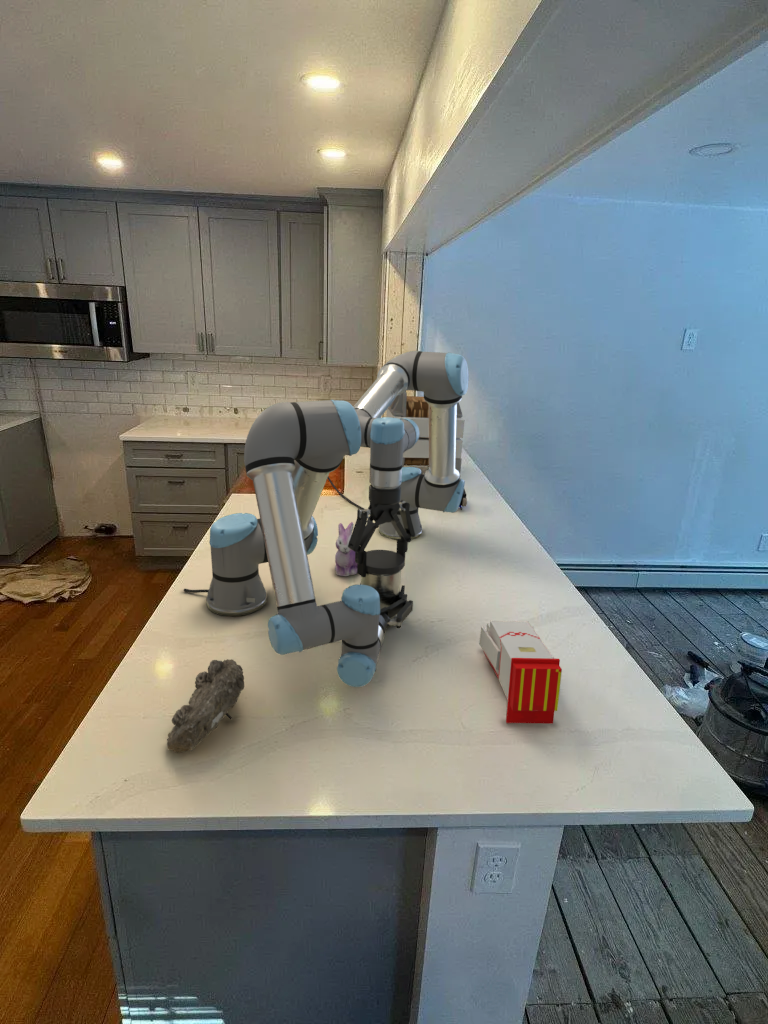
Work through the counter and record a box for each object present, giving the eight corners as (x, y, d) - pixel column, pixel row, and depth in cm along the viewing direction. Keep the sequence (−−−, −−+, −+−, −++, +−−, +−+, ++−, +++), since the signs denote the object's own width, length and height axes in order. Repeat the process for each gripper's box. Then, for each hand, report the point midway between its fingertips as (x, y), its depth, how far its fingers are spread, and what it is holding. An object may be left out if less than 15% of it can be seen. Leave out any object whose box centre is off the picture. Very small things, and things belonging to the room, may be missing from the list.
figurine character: (467, 515, 225) (461, 499, 238) (469, 498, 221) (463, 482, 235) (450, 514, 224) (445, 498, 238) (452, 497, 221) (447, 482, 234)
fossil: (192, 660, 117) (244, 628, 112) (224, 691, 120) (276, 661, 115) (142, 746, 98) (202, 712, 93) (182, 779, 101) (242, 748, 96)
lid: (411, 571, 137) (412, 565, 136) (368, 577, 133) (368, 571, 132) (393, 553, 147) (394, 547, 146) (352, 558, 143) (352, 552, 142)
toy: (526, 605, 135) (570, 665, 105) (521, 658, 137) (563, 730, 108) (475, 604, 134) (506, 664, 105) (472, 657, 137) (500, 729, 108)
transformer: (382, 463, 289) (386, 382, 275) (445, 464, 293) (451, 384, 279) (390, 482, 257) (394, 392, 243) (460, 483, 261) (468, 394, 247)
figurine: (340, 580, 164) (341, 532, 159) (327, 566, 172) (327, 519, 167) (369, 574, 168) (371, 527, 163) (355, 561, 177) (356, 515, 171)
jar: (378, 605, 152) (381, 550, 146) (406, 619, 145) (410, 562, 140) (351, 617, 145) (353, 560, 139) (379, 633, 138) (381, 574, 133)
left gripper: (318, 641, 129) (339, 596, 149) (417, 654, 126) (425, 605, 147) (318, 612, 126) (340, 570, 147) (419, 624, 123) (427, 579, 144)
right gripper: (414, 474, 142) (409, 554, 150) (333, 487, 129) (332, 574, 136) (433, 482, 137) (427, 564, 144) (351, 496, 123) (349, 586, 131)
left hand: (382, 587), depth 147 cm, fingers closed on jar, 10 cm apart
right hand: (381, 569), depth 140 cm, fingers closed on lid, 11 cm apart
